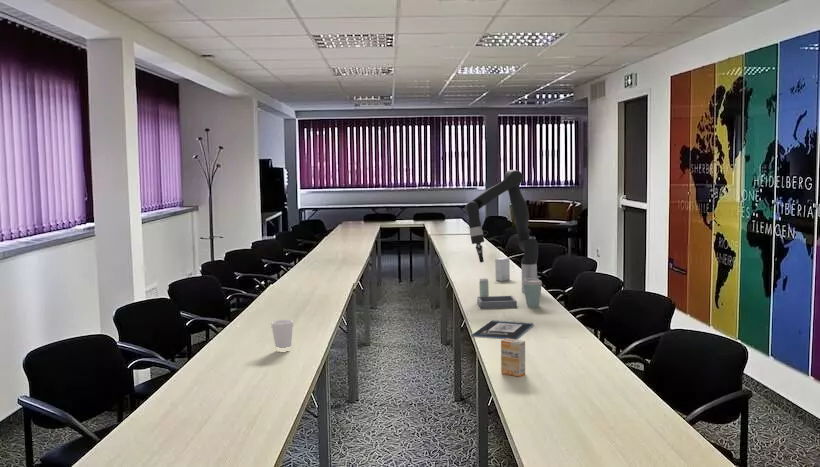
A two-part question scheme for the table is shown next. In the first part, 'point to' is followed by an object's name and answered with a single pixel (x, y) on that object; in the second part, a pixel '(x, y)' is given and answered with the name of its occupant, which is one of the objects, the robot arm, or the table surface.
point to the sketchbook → (503, 329)
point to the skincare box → (502, 269)
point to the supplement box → (513, 357)
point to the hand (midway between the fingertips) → (481, 262)
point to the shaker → (484, 287)
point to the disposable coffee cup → (532, 291)
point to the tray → (496, 302)
